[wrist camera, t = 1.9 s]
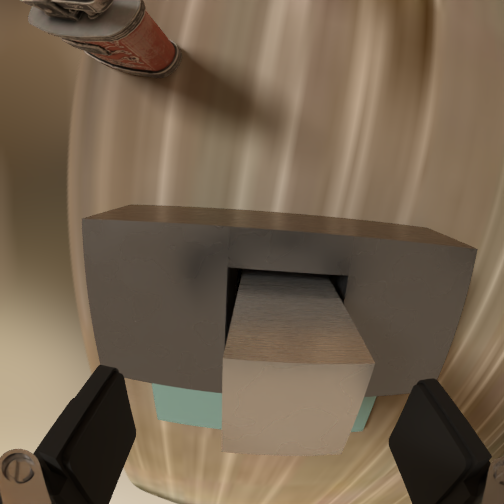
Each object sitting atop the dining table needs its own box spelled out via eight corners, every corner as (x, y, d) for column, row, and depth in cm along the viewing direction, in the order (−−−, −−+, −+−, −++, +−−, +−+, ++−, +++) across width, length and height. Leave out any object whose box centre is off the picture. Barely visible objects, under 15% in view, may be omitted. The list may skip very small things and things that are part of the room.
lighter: (80, 59, 16) (-9, 17, 7) (103, 21, 15) (26, -36, 6) (165, 87, 17) (85, 26, 7) (191, 45, 16) (135, -40, 6)
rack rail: (426, 227, 18) (477, 249, 13) (400, 343, 21) (432, 390, 15) (130, 204, 19) (81, 218, 13) (136, 327, 21) (102, 372, 15)
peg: (314, 253, 19) (375, 363, 8) (306, 313, 20) (341, 454, 9) (248, 248, 19) (223, 358, 8) (244, 309, 20) (221, 451, 9)
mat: (385, 354, 21) (389, 360, 20) (360, 425, 23) (362, 431, 22) (150, 340, 21) (146, 345, 21) (160, 413, 23) (157, 419, 23)
